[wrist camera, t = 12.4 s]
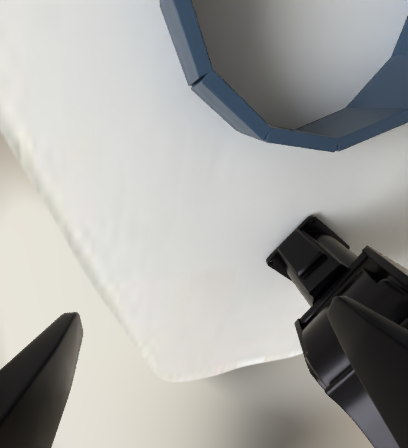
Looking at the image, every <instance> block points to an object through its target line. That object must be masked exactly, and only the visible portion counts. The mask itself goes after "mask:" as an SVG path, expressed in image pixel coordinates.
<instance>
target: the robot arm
mask: <svg viewBox="0 0 408 448" xmlns="http://www.w3.org/2000/svg"><path fill="white" fill-rule="evenodd" d="M311 220H313V221H312V222H311ZM362 251H363V252H362V253H361V254H360V255H359V256H358V257H357V256H356V255H355V254H353V253H352V252H351V251H350V250H349V245H347V244H346V243H345V242H344V241H343V240H342V239H341V238H339V237H338V236H337V235H336V234H335V233H334V232H333V231H331V230H330V229H329V228H328V227H327V226H326V225H325V224H323V223H322V222H321V221H320V220H319V219H318V218H316V217H315V216H313V215H310V216H308V217H307V218H306V219H305V220H304V221H303V222H302V223H301V224H300V225H299V226H298V227H297V228H296V229H295V230H294V231H293V232H292V233H291V234H290V235H289V236H288V237H287V238H286V240H285V241H284V242H283V243H282V244H281V245H280V246H279V247H278V248H277V249H276V250H275V251H274V252H273V253H272V254H271V255H270V256H269V257H268V258H267V259H266V263H267V264H268V266H270V267H271V268H273V269H274V270H276V271H277V272H279V273H280V274H282V275H283V276H285V277H287V278H288V279H290V280H291V281H293V283H294V284H295V285H296V287H297V288H298V289H299V291H300V292H301V294H302V295H303V296H304V298H305V299H306V301H307V302H308V303H309V305H310V306H311V308H310V309H309V310H308V311H307V312H306V313H305V314H304V315H303V316H302V317H301V318H300V319H298V320H297V321H296V322H295V327H296V330H297V334H298V337H299V340H300V344H301V347H302V350H303V354H304V357H305V361H306V363H307V366H308V368H309V371H310V373H311V375H312V376H313V377H314V378H315V379H316V381H317V382H318V383H319V385H320V386H321V387H322V388H323V389H324V390H325V393H326V394H327V395H328V396H329V397H330V398H332V399H333V400H334V401H335V402H336V403H337V404H338V405H339V406H340V407H341V408H342V409H343V410H344V411H345V412H346V413H347V414H348V415H349V416H350V417H351V418H352V420H353V421H354V422H355V423H356V424H357V425H358V427H359V428H360V429H361V431H362V432H363V433H364V434H365V436H366V437H367V438H368V440H369V441H370V442H371V444H372V445H373V446H374V448H408V270H407V269H406V268H404V267H402V266H401V265H399V264H398V263H396V262H394V261H392V260H391V259H389V258H387V257H386V256H384V255H382V254H381V253H379V252H377V251H376V250H374V249H372V248H371V247H369V246H366V247H365V248H364V249H363V250H362ZM272 260H273V261H272ZM270 261H272V262H270ZM82 338H83V329H82V324H81V320H80V315H79V314H78V313H77V312H73V313H64V314H63V315H61V316H60V317H59V318H58V319H57V320H55V321H54V322H53V323H52V324H51V325H50V326H49V327H48V328H47V329H45V330H44V331H43V332H42V333H41V334H40V335H39V336H38V337H36V339H34V340H33V341H32V342H31V343H30V344H29V345H28V346H27V347H25V348H24V349H23V350H22V351H21V352H20V353H19V354H17V355H16V356H15V357H14V358H13V359H12V360H11V361H10V362H9V363H7V364H6V365H5V366H4V367H3V368H2V369H1V370H0V448H51V447H52V443H53V441H54V438H55V435H56V432H57V429H58V426H59V423H60V420H61V417H62V414H63V411H64V408H65V405H66V402H67V399H68V396H69V393H70V389H71V386H72V381H73V378H74V373H75V369H76V364H77V360H78V355H79V351H80V346H81V342H82Z"/></svg>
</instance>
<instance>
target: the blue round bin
mask: <svg viewBox="0 0 408 448" xmlns="http://www.w3.org/2000/svg"><path fill="white" fill-rule="evenodd" d="M160 8H161V10H162V13H163V16H164V19H165V22H166V24H167V27H168V30H169V33H170V35H171V38H172V41H173V44H174V46H175V49H176V52H177V55H178V57H179V60H180V63H181V66H182V69H183V71H184V74H185V77H186V80H187V82H188V85H189V86H190V85H192V84H194V85H193V86H192V88H191V89H192V91H194V92H195V93H196V94H197V95H198V96H199V97H200V98H201V99H202V100H203V101H205V102H206V103H207V104H208V105H209V106H210V107H211V108H212V109H213V110H214V111H216V112H217V113H218V114H219V115H220V116H221V117H222V118H223V119H224V120H225V121H226V122H228V123H229V124H230V125H231V126H232V127H233V128H234V129H235V130H236V131H239V132H240V133H243V134H246V135H248V136H251V137H254V138H256V139H259V140H262V141H265V142H268V143H275V144H282V145H288V146H295V147H302V148H309V149H315V150H322V151H329V152H335V151H341V150H343V149H346V148H348V147H350V146H353V145H355V144H358V143H360V142H362V141H365V140H367V139H369V138H372V137H374V136H377V135H379V134H381V133H384V132H386V131H388V130H391V129H393V128H395V127H398V126H400V125H403V124H405V123H407V122H408V17H407V19H406V22H405V24H404V27H403V29H402V32H401V34H400V37H399V39H398V42H397V44H396V47H395V49H394V52H393V54H392V56H391V58H390V59H389V60H388V61H387V62H386V64H385V65H384V66H383V67H382V68H381V69H380V70H379V71H378V72H377V74H376V75H375V76H374V77H373V78H372V79H371V80H370V81H369V83H368V84H367V85H366V86H365V87H364V88H363V89H362V90H361V91H360V93H359V94H358V95H357V96H356V97H355V98H354V99H353V100H352V102H351V103H350V104H349V105H348V106H347V107H346V108H345V109H342V110H340V111H338V112H335V113H333V114H331V115H328V116H326V117H324V118H321V119H319V120H317V121H314V122H312V123H310V124H307V125H305V126H303V127H300V128H298V129H296V130H292V129H286V128H280V127H273V126H269V125H268V124H267V123H266V122H265V121H264V120H263V119H262V118H261V117H260V116H259V115H258V114H257V113H256V112H255V111H254V110H253V109H252V108H251V107H250V106H249V105H248V104H247V103H246V102H245V101H244V100H243V99H242V98H241V97H240V96H239V95H238V94H237V93H236V92H235V91H234V90H233V89H232V88H231V87H230V86H229V85H228V84H227V83H226V82H225V81H224V80H223V79H222V78H221V77H220V76H219V75H218V74H217V73H216V72H215V71H214V70H213V69H212V65H211V62H210V59H209V56H208V53H207V49H206V46H205V43H204V40H203V36H202V33H201V30H200V27H199V23H198V20H197V17H196V14H195V10H194V7H193V4H192V1H191V0H160Z"/></svg>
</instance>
